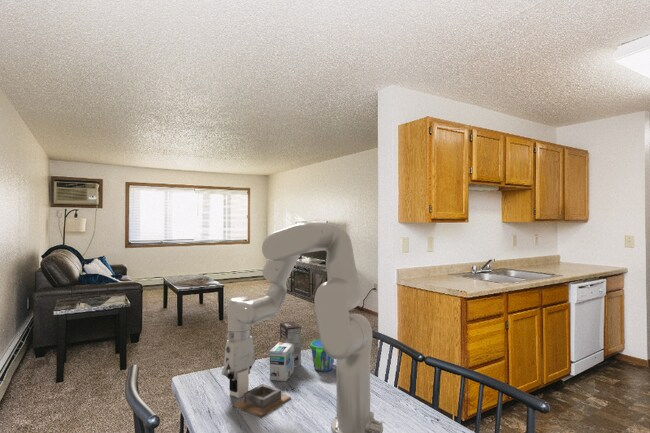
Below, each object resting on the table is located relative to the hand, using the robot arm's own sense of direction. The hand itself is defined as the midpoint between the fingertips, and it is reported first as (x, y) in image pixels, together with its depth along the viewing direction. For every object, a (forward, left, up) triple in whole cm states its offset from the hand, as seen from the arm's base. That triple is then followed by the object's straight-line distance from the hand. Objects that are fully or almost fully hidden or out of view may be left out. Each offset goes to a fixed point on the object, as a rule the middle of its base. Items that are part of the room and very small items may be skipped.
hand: (239, 387), depth 123 cm
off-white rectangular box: (0, 0, -2) cm, 2 cm away
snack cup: (-12, -34, -2) cm, 36 cm away
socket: (-11, 0, -2) cm, 11 cm away
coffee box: (+3, -31, -2) cm, 31 cm away
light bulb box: (-2, -20, -2) cm, 20 cm away
